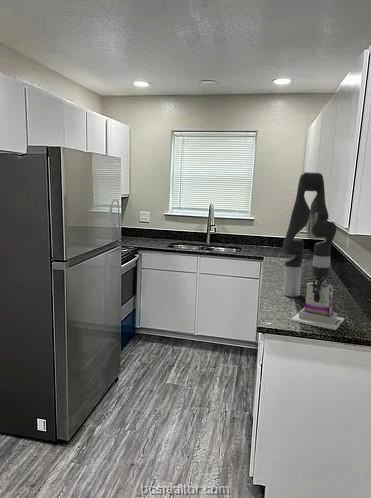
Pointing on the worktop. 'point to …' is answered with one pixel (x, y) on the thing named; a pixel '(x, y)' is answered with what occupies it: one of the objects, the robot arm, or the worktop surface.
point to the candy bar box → (324, 300)
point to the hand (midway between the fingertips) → (319, 299)
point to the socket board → (318, 319)
